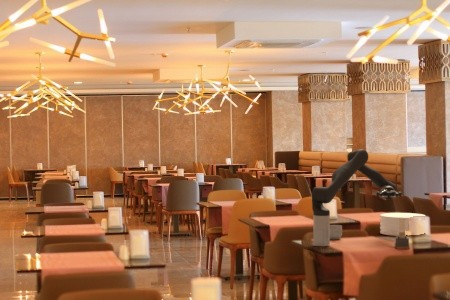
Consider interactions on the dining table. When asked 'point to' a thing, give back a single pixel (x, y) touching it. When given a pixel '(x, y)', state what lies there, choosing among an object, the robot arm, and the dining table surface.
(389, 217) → the plate stack
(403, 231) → the slat
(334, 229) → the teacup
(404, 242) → the dark grey block
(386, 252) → the dining table surface
